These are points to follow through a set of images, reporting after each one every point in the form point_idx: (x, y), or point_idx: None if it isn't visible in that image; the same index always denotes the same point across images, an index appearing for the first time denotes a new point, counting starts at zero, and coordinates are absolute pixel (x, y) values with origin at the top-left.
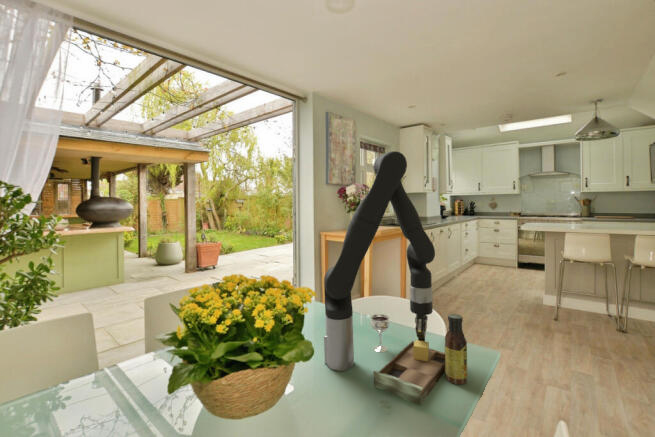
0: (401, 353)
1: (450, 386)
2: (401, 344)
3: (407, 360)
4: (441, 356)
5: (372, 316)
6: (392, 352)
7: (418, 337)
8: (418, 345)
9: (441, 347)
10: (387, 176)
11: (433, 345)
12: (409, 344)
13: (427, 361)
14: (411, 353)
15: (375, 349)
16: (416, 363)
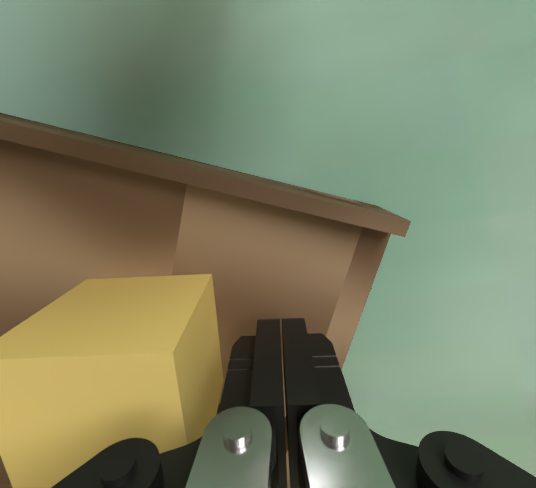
0: (74, 156)
1: None
2: (438, 80)
3: (27, 232)
4: (285, 433)
5: None
6: (235, 26)
7: (253, 397)
8: (26, 415)
9: (461, 404)
10: None
11: (483, 352)
12: (305, 205)
13: None
14: (176, 243)
15: None
16: (24, 313)
